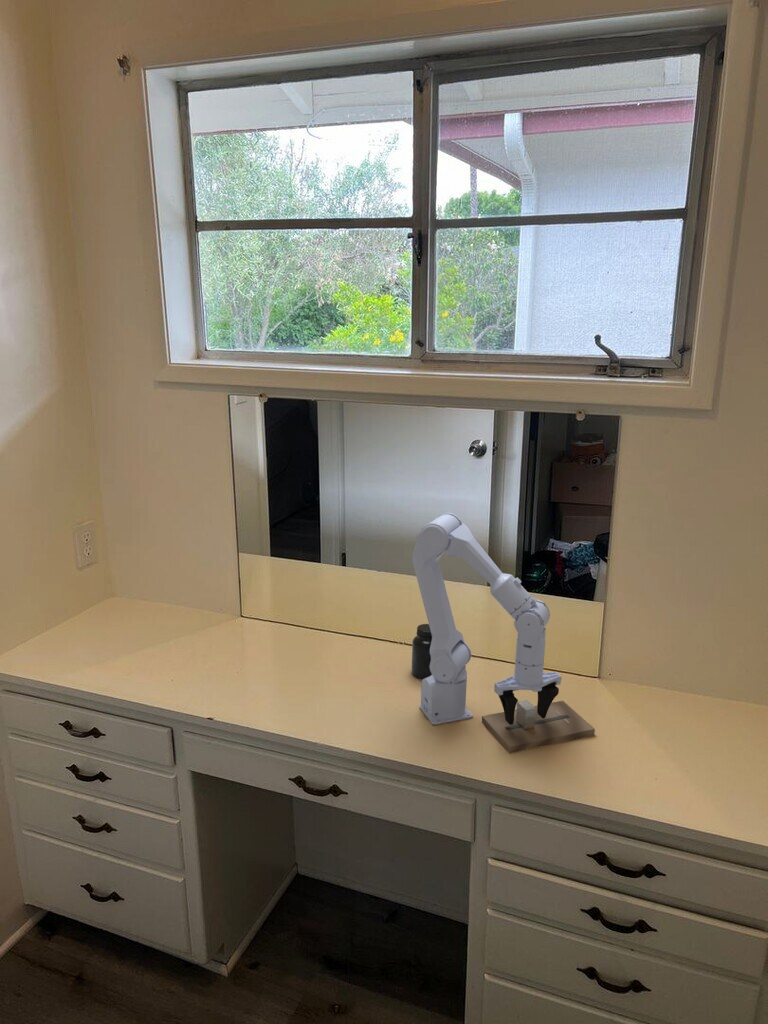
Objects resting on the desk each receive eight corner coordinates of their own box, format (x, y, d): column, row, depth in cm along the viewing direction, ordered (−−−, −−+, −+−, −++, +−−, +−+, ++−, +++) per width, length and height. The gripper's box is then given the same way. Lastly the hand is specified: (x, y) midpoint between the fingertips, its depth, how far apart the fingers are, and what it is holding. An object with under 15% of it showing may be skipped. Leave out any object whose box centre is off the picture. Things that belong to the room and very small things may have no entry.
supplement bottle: (437, 681, 176) (439, 635, 172) (409, 678, 177) (410, 632, 174) (441, 668, 182) (442, 623, 179) (413, 665, 183) (414, 620, 180)
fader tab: (524, 729, 153) (525, 710, 152) (515, 720, 156) (517, 701, 155) (534, 727, 154) (536, 708, 153) (525, 718, 157) (527, 699, 156)
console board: (509, 753, 148) (509, 746, 147) (481, 722, 159) (482, 715, 158) (594, 735, 154) (594, 728, 154) (562, 706, 165) (563, 700, 165)
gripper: (507, 674, 145) (503, 735, 149) (571, 663, 150) (566, 722, 154) (490, 658, 151) (487, 717, 155) (552, 648, 156) (547, 705, 160)
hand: (525, 718), depth 155 cm, fingers open, 7 cm apart
